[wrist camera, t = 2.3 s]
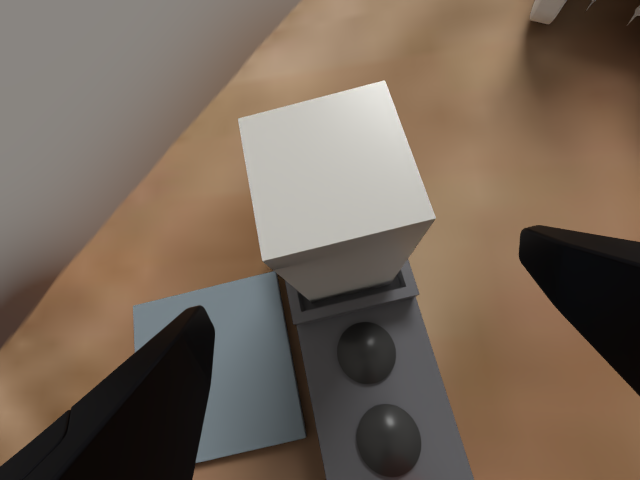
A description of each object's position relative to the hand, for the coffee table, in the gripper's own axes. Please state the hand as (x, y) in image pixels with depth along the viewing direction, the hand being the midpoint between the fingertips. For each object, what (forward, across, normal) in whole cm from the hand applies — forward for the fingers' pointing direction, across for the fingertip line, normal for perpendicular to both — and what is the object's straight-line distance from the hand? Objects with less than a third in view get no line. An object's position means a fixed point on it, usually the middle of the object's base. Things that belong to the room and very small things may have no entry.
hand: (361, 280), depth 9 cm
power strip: (+7, 0, +9) cm, 11 cm away
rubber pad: (+7, +9, +9) cm, 15 cm away
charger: (+8, 0, +4) cm, 9 cm away
